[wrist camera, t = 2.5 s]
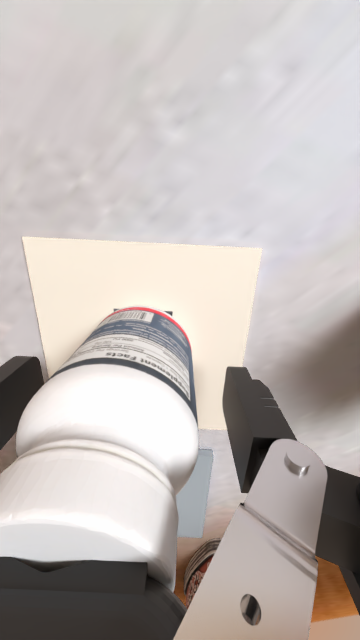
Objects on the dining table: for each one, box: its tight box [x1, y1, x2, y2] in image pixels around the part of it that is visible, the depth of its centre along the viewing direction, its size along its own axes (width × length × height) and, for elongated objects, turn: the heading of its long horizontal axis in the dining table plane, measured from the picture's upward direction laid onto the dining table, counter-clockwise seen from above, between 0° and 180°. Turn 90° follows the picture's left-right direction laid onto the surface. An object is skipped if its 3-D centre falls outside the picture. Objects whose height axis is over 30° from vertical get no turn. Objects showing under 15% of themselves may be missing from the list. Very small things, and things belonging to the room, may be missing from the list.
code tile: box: [22, 237, 262, 430], centre depth 12 cm, size 11×11×1 cm
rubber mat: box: [176, 449, 213, 538], centre depth 17 cm, size 9×9×1 cm
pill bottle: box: [0, 305, 199, 592], centre depth 8 cm, size 5×5×9 cm
